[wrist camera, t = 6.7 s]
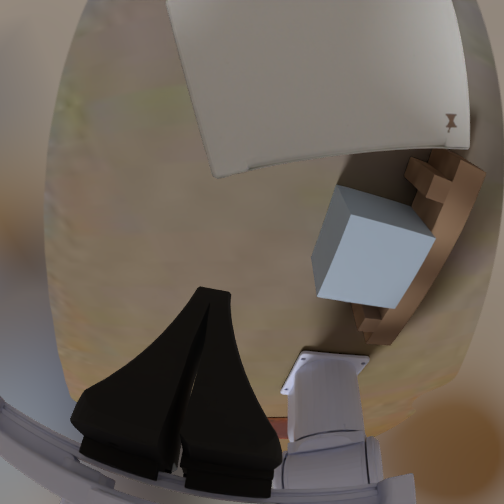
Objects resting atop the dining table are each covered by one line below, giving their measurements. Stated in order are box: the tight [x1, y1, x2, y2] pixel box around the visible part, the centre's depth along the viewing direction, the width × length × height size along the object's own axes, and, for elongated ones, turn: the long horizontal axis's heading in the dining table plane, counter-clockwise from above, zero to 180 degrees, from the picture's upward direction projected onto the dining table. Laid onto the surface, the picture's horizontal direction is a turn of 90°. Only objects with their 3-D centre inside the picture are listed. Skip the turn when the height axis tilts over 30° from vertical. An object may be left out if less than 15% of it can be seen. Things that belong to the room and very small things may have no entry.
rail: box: [351, 148, 486, 345], centre depth 18 cm, size 16×4×4 cm, turn 171°
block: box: [311, 184, 436, 309], centre depth 18 cm, size 6×6×4 cm
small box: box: [166, 0, 470, 179], centre depth 10 cm, size 8×6×10 cm
